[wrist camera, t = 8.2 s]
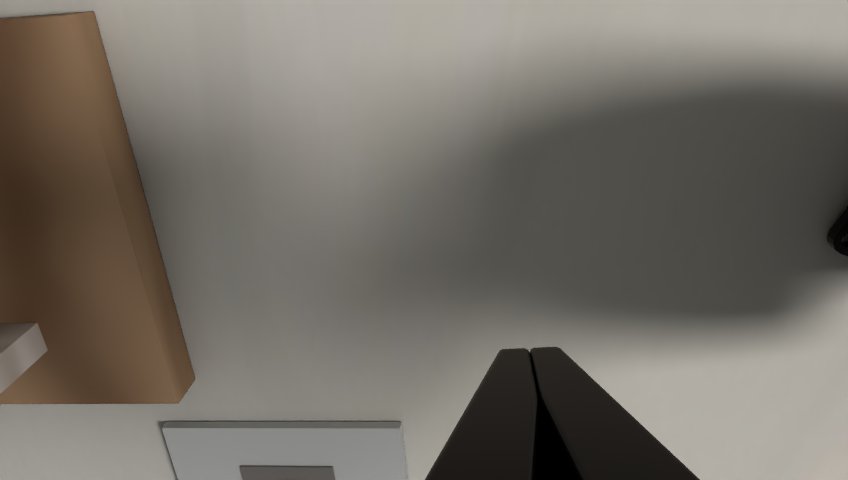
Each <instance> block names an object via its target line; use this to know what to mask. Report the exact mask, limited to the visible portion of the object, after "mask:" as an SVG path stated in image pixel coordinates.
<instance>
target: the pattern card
mask: <svg viewBox="0 0 848 480" xmlns="http://www.w3.org/2000/svg"><path fill="white" fill-rule="evenodd" d="M162 431H163V434H164V437H165V441H166V444H167V447H168V450H169V453H170V456H171V460H172V463H173V466H174V469H175V472H176V475H177V479H178V480H408V478H407V469H406V460H405V451H404V442H403V433H402V424H401V422H165V424H164V425H163V427H162Z"/></svg>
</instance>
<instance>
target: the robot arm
mask: <svg viewBox="0 0 848 480" xmlns="http://www.w3.org/2000/svg"><path fill="white" fill-rule="evenodd" d="M846 234H848V206H847V207H846V209H845V210H844V211H843V213H842V214H841V216H840V217H839V218H838V220H837V221H836V222H835V224H834V225H833V226H832V228H831V229H830V231H829V233H828V235H827V241H828V243H829V245H830V246H831V247H832V248H834V249H835V250H836V251H837V252H839V253H840V254H843V255H845V256H848V241H845V242H841V241H842V239H843V237H844V236H845V235H846ZM425 480H700V479H699V478H697V477H696V476H695V475H694V474H693V473H692V472H691V471H690V470H689V469H688V468H687V467H686V466H685V465H684V464H683V463H682V462H680V461H679V460H678V459H677V458H676V457H675V456H674V455H673V454H672V453H671V452H670V451H669V450H668V449H667V448H666V447H664V446H663V445H662V444H661V443H660V442H659V441H658V440H657V439H656V438H655V437H654V436H653V435H652V434H651V433H650V432H649V431H647V430H646V429H645V428H644V427H643V426H642V425H641V424H640V423H639V422H638V421H637V420H636V419H635V418H634V417H633V416H632V415H630V414H629V413H628V412H627V411H626V410H625V409H624V408H623V407H622V406H621V405H620V404H619V403H618V402H617V401H616V400H614V399H613V398H612V397H611V396H610V395H609V394H608V393H607V392H606V391H605V390H604V389H603V388H602V387H601V386H600V385H599V384H597V383H596V382H595V381H594V380H593V379H592V378H591V377H590V376H589V375H588V374H587V373H586V372H585V371H584V370H583V369H582V368H580V367H579V366H578V365H577V364H576V363H575V362H574V361H573V360H572V359H571V358H570V357H569V356H568V355H567V354H566V353H564V352H563V351H562V350H561V349H560V348H558V347H541V348H533V349H531V351H530V353H529V351H528V350H527V349H525V348H519V349H502V350H500V351H499V353H498V354H497V356H496V358H495V359H494V361H493V363H492V365H491V366H490V368H489V370H488V372H487V373H486V375H485V377H484V378H483V380H482V382H481V384H480V385H479V387H478V389H477V391H476V392H475V394H474V396H473V397H472V399H471V401H470V403H469V404H468V406H467V408H466V410H465V411H464V413H463V415H462V416H461V418H460V420H459V422H458V423H457V425H456V427H455V429H454V430H453V432H452V434H451V435H450V437H449V439H448V441H447V442H446V444H445V446H444V448H443V449H442V451H441V453H440V454H439V456H438V458H437V460H436V461H435V463H434V465H433V467H432V468H431V470H430V472H429V473H428V475H427V477H426V479H425Z"/></svg>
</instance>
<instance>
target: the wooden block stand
mask: <svg viewBox="0 0 848 480" xmlns="http://www.w3.org/2000/svg"><path fill="white" fill-rule="evenodd" d="M194 380H195V377H194V373H193V369H192V366H191V362H190V359H189V355H188V351H187V348H186V344H185V340H184V337H183V333H182V329H181V326H180V322H179V319H178V315H177V311H176V308H175V304H174V300H173V297H172V293H171V290H170V286H169V282H168V279H167V275H166V271H165V268H164V264H163V260H162V257H161V253H160V250H159V246H158V242H157V239H156V235H155V231H154V228H153V224H152V221H151V217H150V213H149V210H148V206H147V202H146V199H145V195H144V191H143V188H142V184H141V181H140V177H139V173H138V170H137V166H136V162H135V159H134V155H133V152H132V148H131V144H130V141H129V137H128V133H127V130H126V126H125V122H124V119H123V115H122V112H121V108H120V104H119V101H118V97H117V93H116V90H115V86H114V83H113V79H112V75H111V72H110V68H109V64H108V61H107V57H106V53H105V50H104V46H103V43H102V39H101V35H100V32H99V28H98V24H97V21H96V17H95V13H94V11H89V12H76V13H62V14H49V15H35V16H22V17H8V18H0V404H175V403H179V402H180V401H181V399H182V398H183V396H184V395H185V393H186V392H187V390H188V389H189V387H190V386H191V385H192V383H193V382H194Z"/></svg>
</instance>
